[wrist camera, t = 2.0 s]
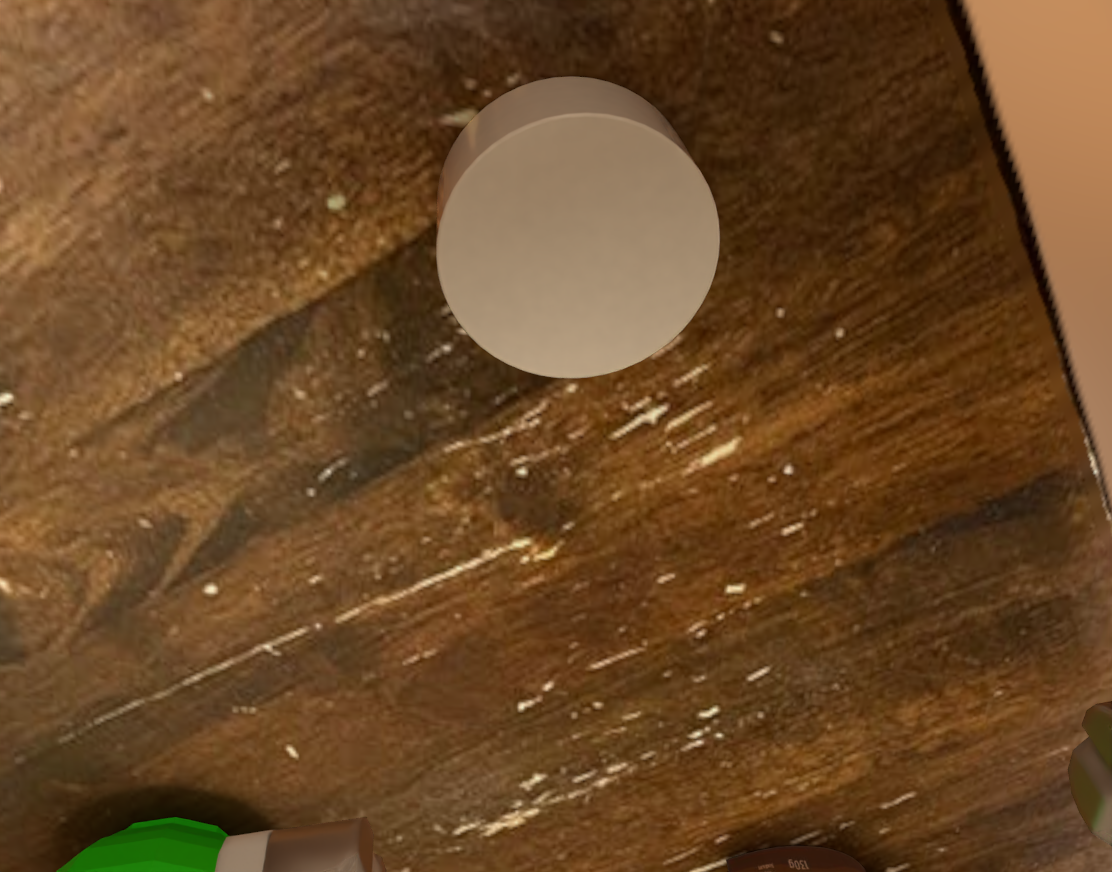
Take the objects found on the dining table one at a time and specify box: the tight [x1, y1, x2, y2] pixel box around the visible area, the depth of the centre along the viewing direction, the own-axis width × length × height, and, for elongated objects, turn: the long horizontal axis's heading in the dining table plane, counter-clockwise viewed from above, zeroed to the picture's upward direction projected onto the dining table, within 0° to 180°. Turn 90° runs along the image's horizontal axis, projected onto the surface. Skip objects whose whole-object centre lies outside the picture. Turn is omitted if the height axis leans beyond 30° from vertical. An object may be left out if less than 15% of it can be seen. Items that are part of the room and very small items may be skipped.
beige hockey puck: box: [436, 76, 720, 378], centre depth 24 cm, size 7×7×3 cm
